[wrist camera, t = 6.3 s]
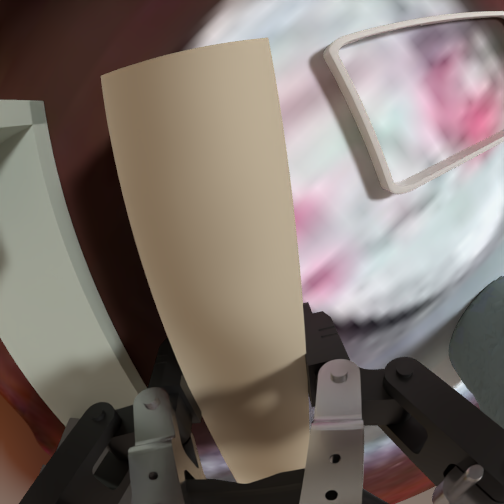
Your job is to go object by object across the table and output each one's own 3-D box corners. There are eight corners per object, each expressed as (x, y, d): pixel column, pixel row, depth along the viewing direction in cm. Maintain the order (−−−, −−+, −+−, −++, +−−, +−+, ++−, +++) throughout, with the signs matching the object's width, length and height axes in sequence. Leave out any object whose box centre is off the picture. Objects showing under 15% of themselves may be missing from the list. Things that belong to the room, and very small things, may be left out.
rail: (254, 74, 10) (268, 37, 5) (298, 420, 18) (310, 481, 13) (153, 94, 10) (100, 76, 6) (239, 428, 18) (242, 490, 13)
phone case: (380, 194, 13) (535, 114, 11) (393, 200, 12) (548, 116, 10) (315, 49, 11) (499, 14, 9) (323, 41, 9) (512, 11, 7)
